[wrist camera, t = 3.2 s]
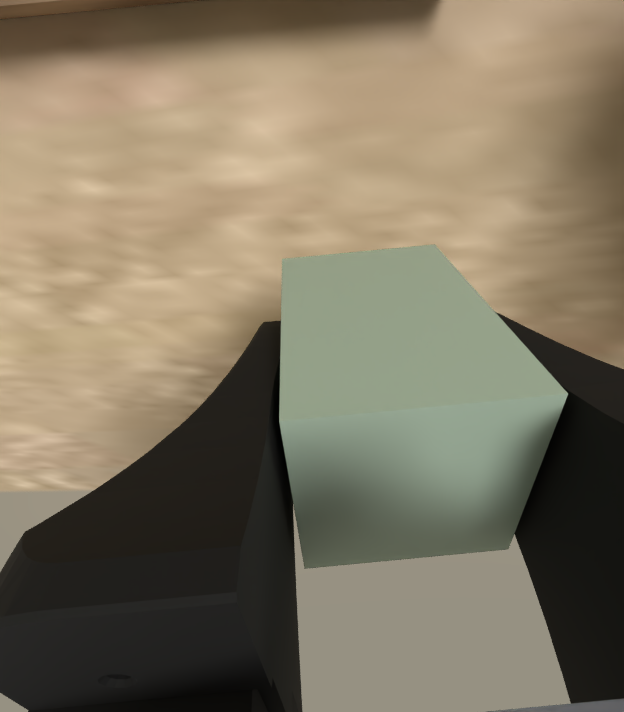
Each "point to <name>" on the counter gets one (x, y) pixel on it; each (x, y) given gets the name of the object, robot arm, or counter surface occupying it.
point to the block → (405, 409)
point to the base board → (68, 6)
